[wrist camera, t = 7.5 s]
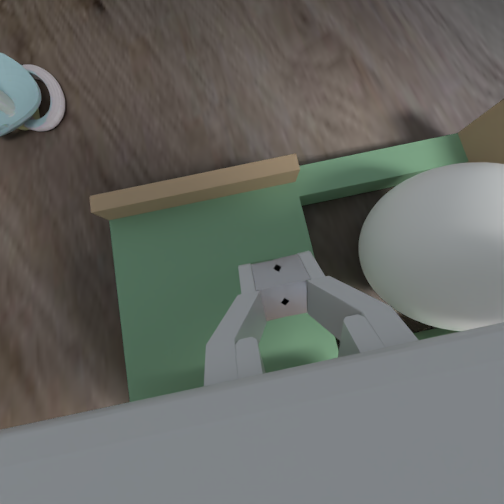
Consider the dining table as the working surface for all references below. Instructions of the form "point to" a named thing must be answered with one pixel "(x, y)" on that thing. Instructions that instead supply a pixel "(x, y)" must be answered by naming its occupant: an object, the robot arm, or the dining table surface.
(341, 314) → the robot arm
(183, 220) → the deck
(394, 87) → the dining table surface
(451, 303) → the ball
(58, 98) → the pacifier
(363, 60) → the dining table surface
